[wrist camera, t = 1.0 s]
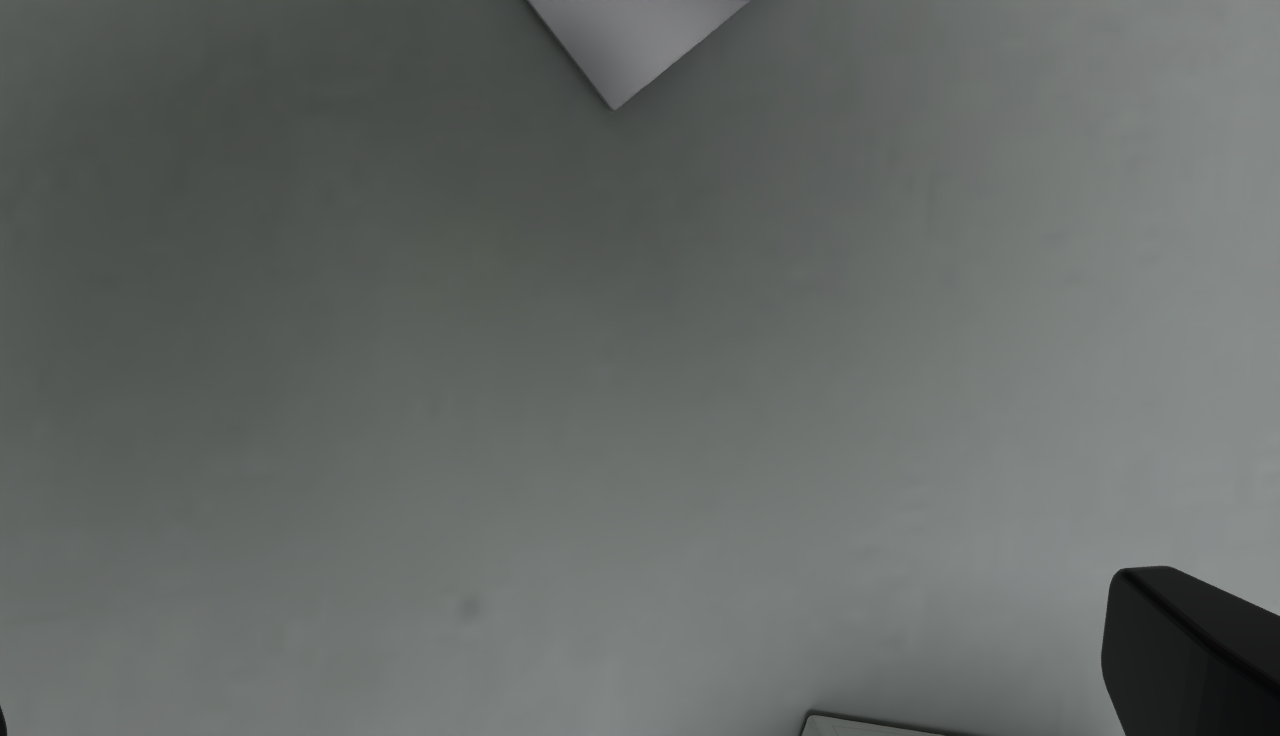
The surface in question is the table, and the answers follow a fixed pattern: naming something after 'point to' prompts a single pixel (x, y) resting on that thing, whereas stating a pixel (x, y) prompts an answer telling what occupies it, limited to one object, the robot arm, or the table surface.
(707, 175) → the table surface
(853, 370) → the table surface
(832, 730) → the supplement box
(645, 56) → the ring seat
